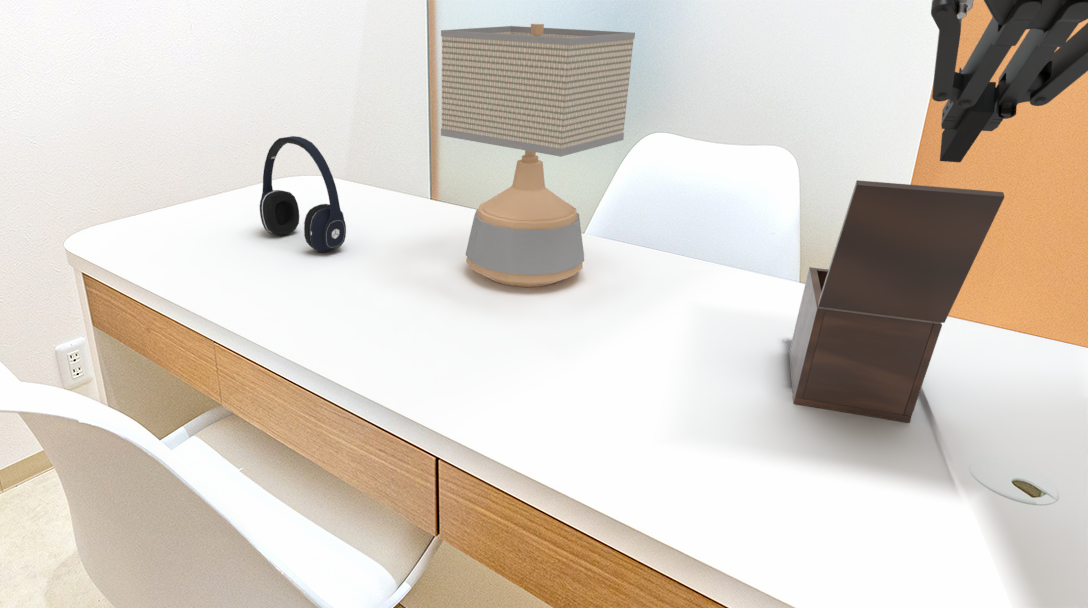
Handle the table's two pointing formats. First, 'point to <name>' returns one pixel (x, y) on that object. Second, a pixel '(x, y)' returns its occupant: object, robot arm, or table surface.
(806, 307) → the chest
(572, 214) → the desk lamp
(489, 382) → the table surface
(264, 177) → the headphones
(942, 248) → the lid
